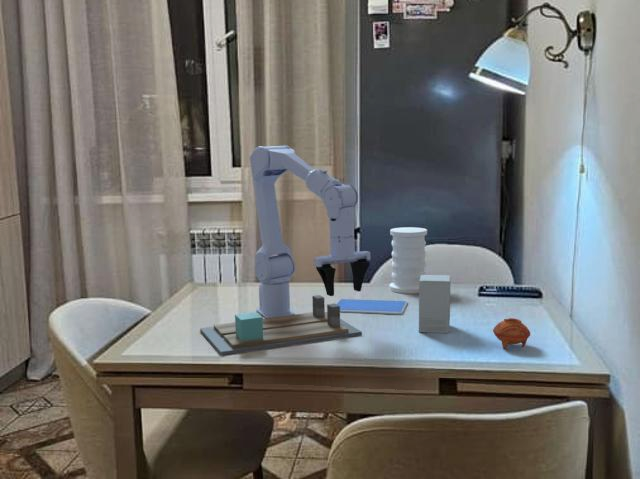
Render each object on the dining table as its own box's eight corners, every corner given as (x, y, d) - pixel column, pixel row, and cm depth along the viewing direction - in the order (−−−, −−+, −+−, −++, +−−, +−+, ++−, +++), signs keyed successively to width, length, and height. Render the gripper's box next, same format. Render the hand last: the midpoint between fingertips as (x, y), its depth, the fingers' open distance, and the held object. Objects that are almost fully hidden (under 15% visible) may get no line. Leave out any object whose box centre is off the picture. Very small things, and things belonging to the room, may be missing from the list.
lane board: (200, 331, 170) (200, 328, 170) (328, 314, 183) (328, 311, 183) (220, 355, 152) (220, 351, 152) (361, 335, 165) (361, 331, 165)
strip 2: (223, 338, 161) (222, 314, 160) (334, 323, 172) (334, 300, 171) (232, 348, 154) (231, 323, 153) (348, 332, 164) (348, 308, 164)
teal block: (235, 335, 161) (234, 314, 160) (256, 332, 163) (255, 312, 162) (241, 341, 156) (241, 319, 155) (263, 338, 158) (262, 317, 157)
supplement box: (449, 333, 165) (450, 281, 162) (418, 332, 166) (418, 280, 164) (450, 325, 172) (450, 274, 170) (419, 323, 173) (420, 274, 171)
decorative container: (387, 293, 205) (387, 232, 203) (390, 284, 217) (390, 226, 214) (427, 294, 203) (428, 232, 201) (428, 285, 215) (428, 227, 212)
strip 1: (213, 328, 170) (212, 305, 169) (320, 314, 180) (319, 292, 180) (222, 336, 163) (220, 312, 162) (332, 322, 173) (332, 299, 172)
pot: (483, 342, 156) (489, 313, 156) (511, 346, 159) (517, 317, 159) (504, 351, 149) (511, 320, 149) (534, 355, 152) (540, 325, 152)
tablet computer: (329, 314, 186) (329, 309, 186) (339, 302, 198) (339, 297, 198) (402, 317, 182) (402, 312, 181) (408, 305, 194) (408, 300, 193)
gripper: (324, 241, 157) (326, 300, 159) (377, 234, 164) (378, 291, 166) (308, 238, 163) (311, 295, 165) (360, 232, 170) (362, 286, 172)
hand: (344, 293), depth 166 cm, fingers open, 7 cm apart
